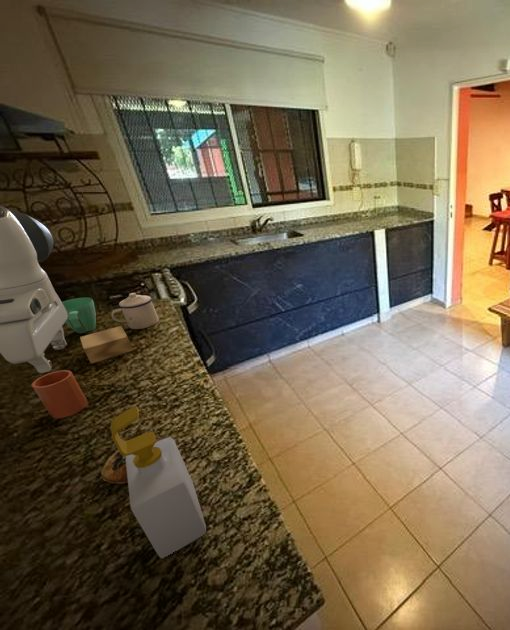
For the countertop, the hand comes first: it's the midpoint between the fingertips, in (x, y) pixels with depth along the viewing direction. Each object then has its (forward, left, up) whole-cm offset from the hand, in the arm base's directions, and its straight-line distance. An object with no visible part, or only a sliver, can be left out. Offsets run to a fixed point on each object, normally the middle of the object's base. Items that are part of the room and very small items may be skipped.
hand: (54, 358), depth 69 cm
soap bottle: (+17, -36, -18) cm, 44 cm away
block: (-2, +38, -18) cm, 42 cm away
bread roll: (+10, -18, -18) cm, 28 cm away
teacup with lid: (+4, +54, -18) cm, 57 cm away
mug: (-11, +57, -18) cm, 61 cm away
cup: (-6, +10, -18) cm, 22 cm away
